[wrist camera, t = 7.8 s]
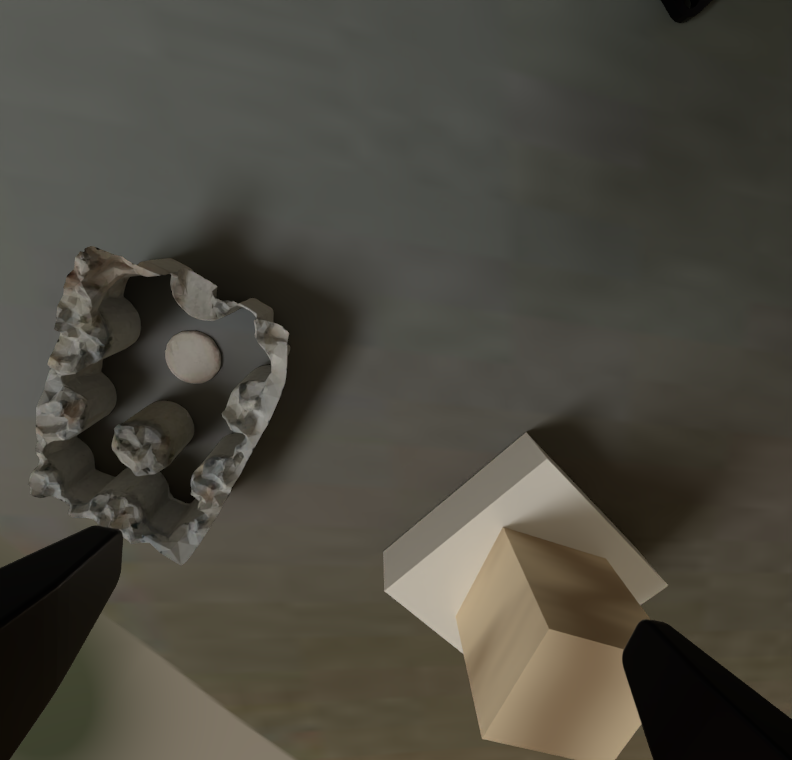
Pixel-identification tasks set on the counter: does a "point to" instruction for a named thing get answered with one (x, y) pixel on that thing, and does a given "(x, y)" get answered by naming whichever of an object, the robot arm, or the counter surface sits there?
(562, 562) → the cube
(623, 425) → the counter surface
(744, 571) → the counter surface
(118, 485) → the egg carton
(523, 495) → the base
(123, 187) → the counter surface
